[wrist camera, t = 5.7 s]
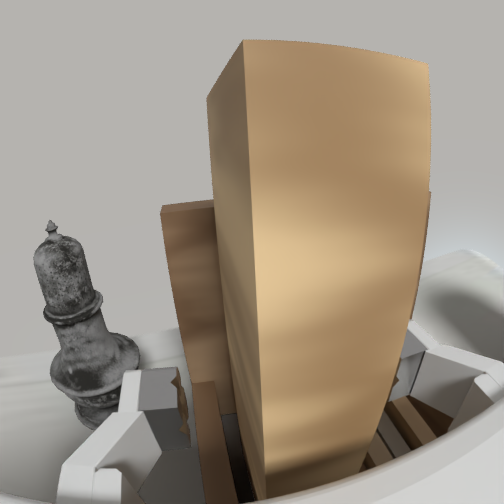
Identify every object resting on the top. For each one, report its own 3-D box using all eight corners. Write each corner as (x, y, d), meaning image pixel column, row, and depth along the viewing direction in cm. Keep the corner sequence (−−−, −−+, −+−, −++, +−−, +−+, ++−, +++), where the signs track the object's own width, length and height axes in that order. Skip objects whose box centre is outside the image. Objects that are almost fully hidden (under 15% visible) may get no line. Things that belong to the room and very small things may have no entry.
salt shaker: (126, 361, 21) (85, 200, 17) (171, 404, 18) (124, 210, 13) (60, 395, 17) (-5, 228, 13) (93, 450, 14) (-1, 252, 9)
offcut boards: (385, 552, 8) (413, 530, 6) (315, 409, 17) (319, 367, 16) (443, 521, 8) (477, 490, 7) (363, 395, 17) (373, 353, 16)
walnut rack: (236, 612, 6) (108, 584, 1) (198, 401, 18) (162, 205, 13) (497, 501, 8) (638, 292, 3) (387, 359, 20) (414, 186, 16)
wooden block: (268, 551, 9) (242, 39, 3) (242, 453, 14) (206, 97, 8) (325, 537, 9) (427, 63, 3) (289, 444, 15) (291, 95, 9)
